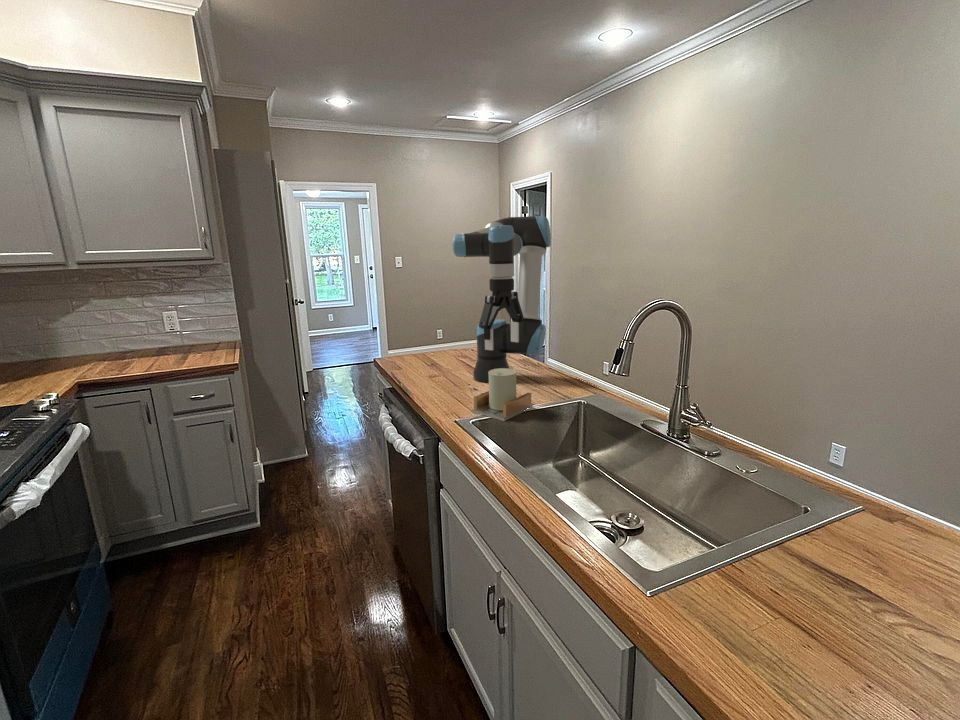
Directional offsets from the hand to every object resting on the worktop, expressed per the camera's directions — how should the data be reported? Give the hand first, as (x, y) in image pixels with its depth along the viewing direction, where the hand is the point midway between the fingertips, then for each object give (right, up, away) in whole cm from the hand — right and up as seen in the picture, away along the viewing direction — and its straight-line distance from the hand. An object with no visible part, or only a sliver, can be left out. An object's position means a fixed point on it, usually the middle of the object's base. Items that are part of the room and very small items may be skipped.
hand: (502, 345), depth 151 cm
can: (0, -20, +5) cm, 20 cm away
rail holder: (0, -21, +5) cm, 21 cm away
